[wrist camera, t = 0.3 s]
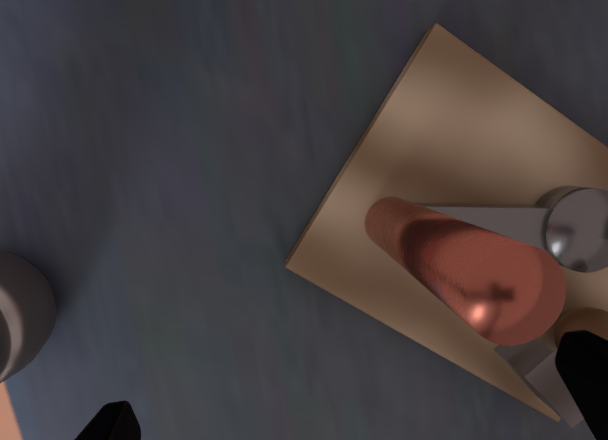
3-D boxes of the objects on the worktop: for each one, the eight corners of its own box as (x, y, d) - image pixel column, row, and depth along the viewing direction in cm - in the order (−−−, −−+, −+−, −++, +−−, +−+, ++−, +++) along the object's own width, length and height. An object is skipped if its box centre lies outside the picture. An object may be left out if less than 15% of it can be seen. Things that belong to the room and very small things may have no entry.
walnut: (573, 364, 25) (623, 399, 21) (528, 337, 24) (572, 368, 21) (608, 315, 24) (665, 343, 21) (563, 287, 24) (614, 310, 20)
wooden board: (545, 410, 27) (596, 457, 22) (284, 261, 23) (287, 284, 19) (686, 216, 25) (768, 229, 21) (427, 29, 22) (464, 1, 18)
